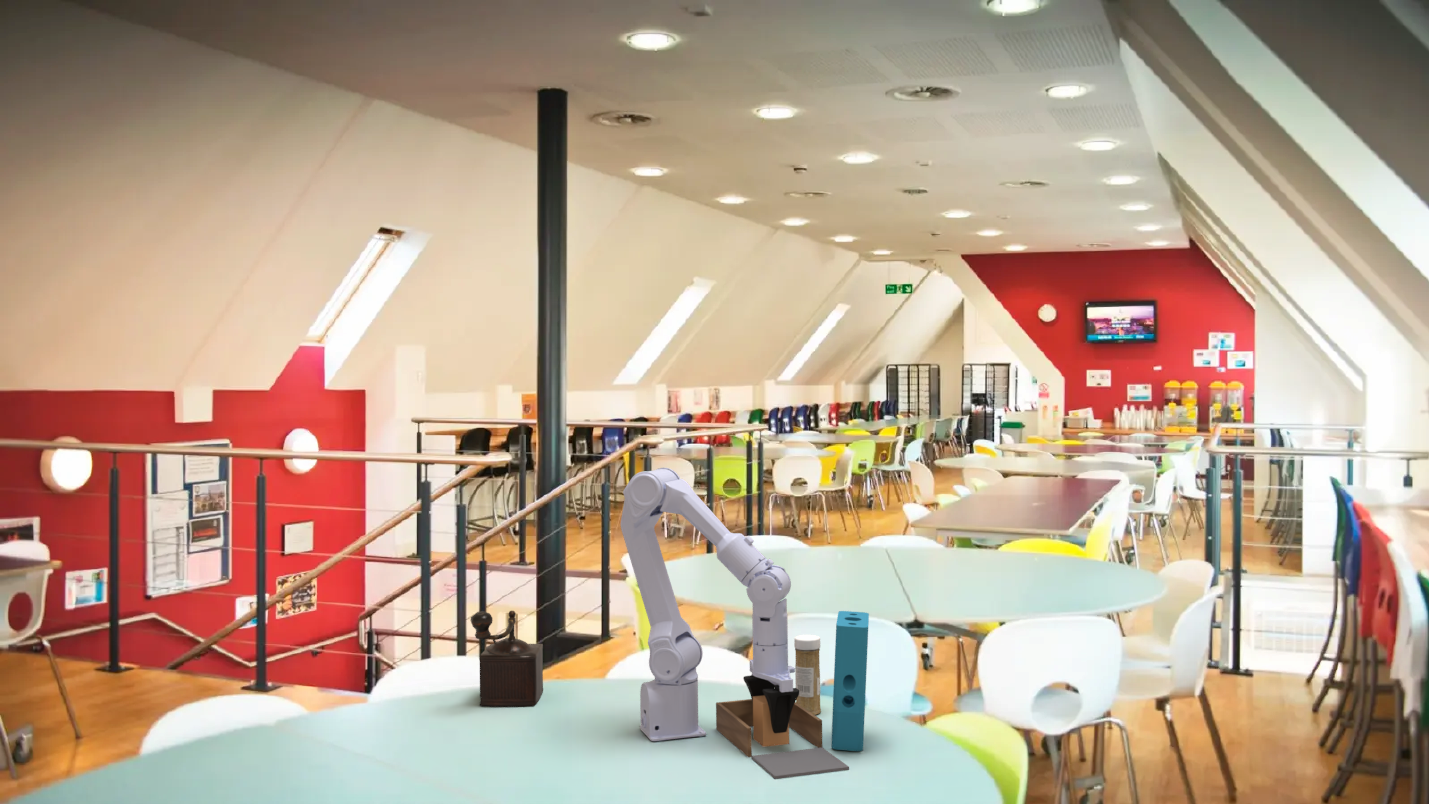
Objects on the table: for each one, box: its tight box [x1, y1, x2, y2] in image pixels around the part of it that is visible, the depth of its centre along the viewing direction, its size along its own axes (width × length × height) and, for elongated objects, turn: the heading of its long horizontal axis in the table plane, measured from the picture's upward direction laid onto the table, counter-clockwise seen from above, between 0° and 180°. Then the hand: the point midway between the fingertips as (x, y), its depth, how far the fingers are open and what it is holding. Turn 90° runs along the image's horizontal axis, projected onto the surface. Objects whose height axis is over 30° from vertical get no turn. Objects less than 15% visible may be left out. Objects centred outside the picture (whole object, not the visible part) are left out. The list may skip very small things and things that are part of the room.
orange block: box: [752, 695, 790, 748], centre depth 190 cm, size 4×4×7 cm
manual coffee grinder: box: [470, 610, 544, 708], centre depth 215 cm, size 16×11×18 cm
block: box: [831, 610, 870, 752], centre depth 189 cm, size 12×5×20 cm, turn 172°
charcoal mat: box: [750, 746, 850, 780], centre depth 179 cm, size 12×10×1 cm
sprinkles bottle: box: [793, 634, 822, 716], centre depth 206 cm, size 5×5×14 cm
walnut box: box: [715, 698, 823, 758], centre depth 192 cm, size 13×16×4 cm
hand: (771, 725), depth 190 cm, fingers open, 7 cm apart
